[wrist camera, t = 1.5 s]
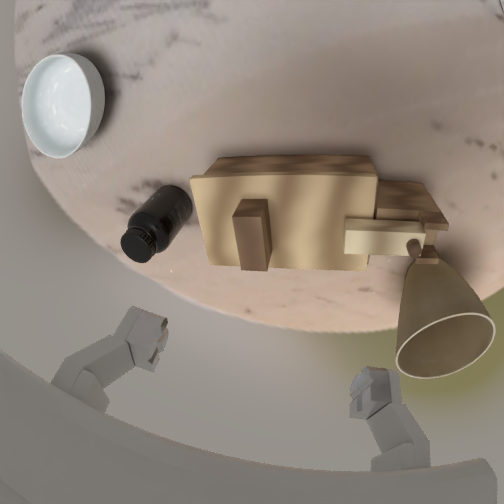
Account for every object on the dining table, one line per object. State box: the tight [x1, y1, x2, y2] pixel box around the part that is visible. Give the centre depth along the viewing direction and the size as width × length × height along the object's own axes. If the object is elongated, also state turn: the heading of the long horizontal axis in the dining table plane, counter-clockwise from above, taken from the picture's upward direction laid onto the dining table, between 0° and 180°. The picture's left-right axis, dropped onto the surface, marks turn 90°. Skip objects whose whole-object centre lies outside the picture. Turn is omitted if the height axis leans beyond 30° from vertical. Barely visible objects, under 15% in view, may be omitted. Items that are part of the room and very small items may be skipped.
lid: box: [190, 172, 377, 271], centre depth 33 cm, size 21×13×6 cm, turn 97°
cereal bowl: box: [22, 53, 105, 158], centre depth 33 cm, size 17×17×7 cm
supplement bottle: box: [120, 186, 192, 263], centre depth 40 cm, size 7×7×12 cm
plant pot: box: [396, 258, 496, 379], centre depth 36 cm, size 15×15×16 cm
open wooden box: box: [203, 155, 449, 264], centre depth 34 cm, size 28×12×11 cm, turn 97°
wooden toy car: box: [343, 218, 426, 258], centre depth 29 cm, size 9×3×4 cm, turn 97°
